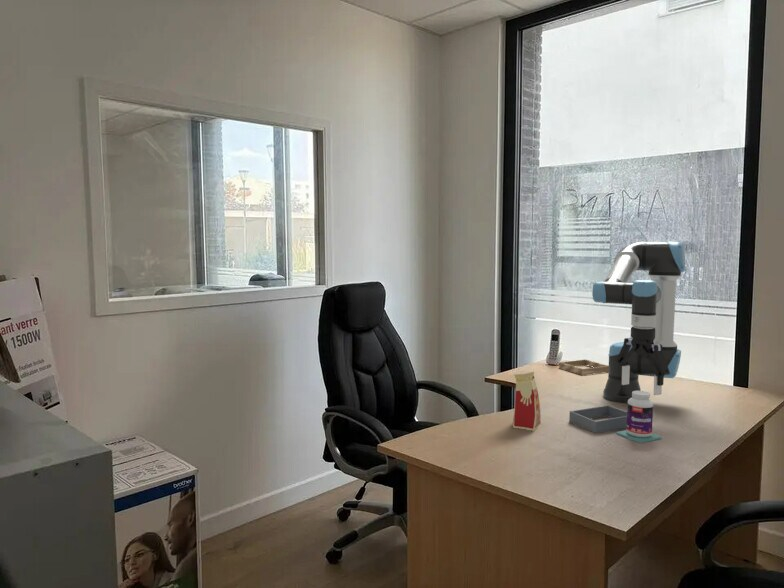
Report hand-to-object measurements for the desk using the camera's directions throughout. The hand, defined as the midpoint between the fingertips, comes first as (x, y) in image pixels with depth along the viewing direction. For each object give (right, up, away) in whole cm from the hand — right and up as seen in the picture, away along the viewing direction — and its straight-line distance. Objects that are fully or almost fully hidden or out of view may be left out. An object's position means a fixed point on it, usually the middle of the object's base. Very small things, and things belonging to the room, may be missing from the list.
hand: (640, 389), depth 197 cm
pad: (0, -16, +1) cm, 16 cm away
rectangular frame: (-8, -15, +14) cm, 22 cm away
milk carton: (-36, -15, +13) cm, 41 cm away
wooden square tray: (+12, -6, +96) cm, 97 cm away
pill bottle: (0, -16, +1) cm, 16 cm away
